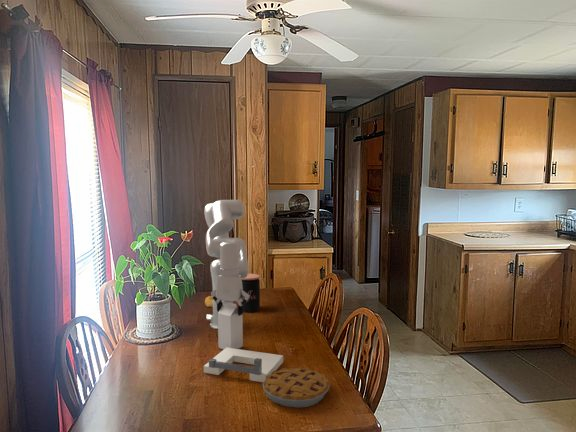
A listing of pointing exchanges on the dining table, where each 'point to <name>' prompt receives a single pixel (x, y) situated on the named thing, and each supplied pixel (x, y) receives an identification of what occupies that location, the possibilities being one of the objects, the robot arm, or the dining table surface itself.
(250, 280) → the coffee jar
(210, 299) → the bagel
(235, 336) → the milk carton
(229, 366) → the hook rail
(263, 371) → the notched board
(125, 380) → the dining table surface
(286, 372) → the pie
